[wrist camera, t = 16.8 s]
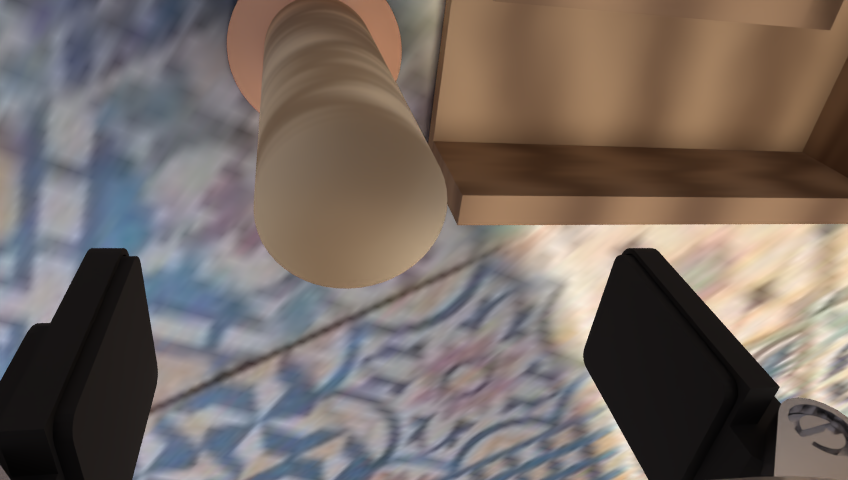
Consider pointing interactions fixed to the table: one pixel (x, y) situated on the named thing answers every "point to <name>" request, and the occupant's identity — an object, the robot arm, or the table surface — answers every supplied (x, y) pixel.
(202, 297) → the table surface
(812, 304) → the table surface
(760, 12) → the channel board
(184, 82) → the table surface
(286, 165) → the beech peg
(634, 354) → the robot arm
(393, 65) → the pad
